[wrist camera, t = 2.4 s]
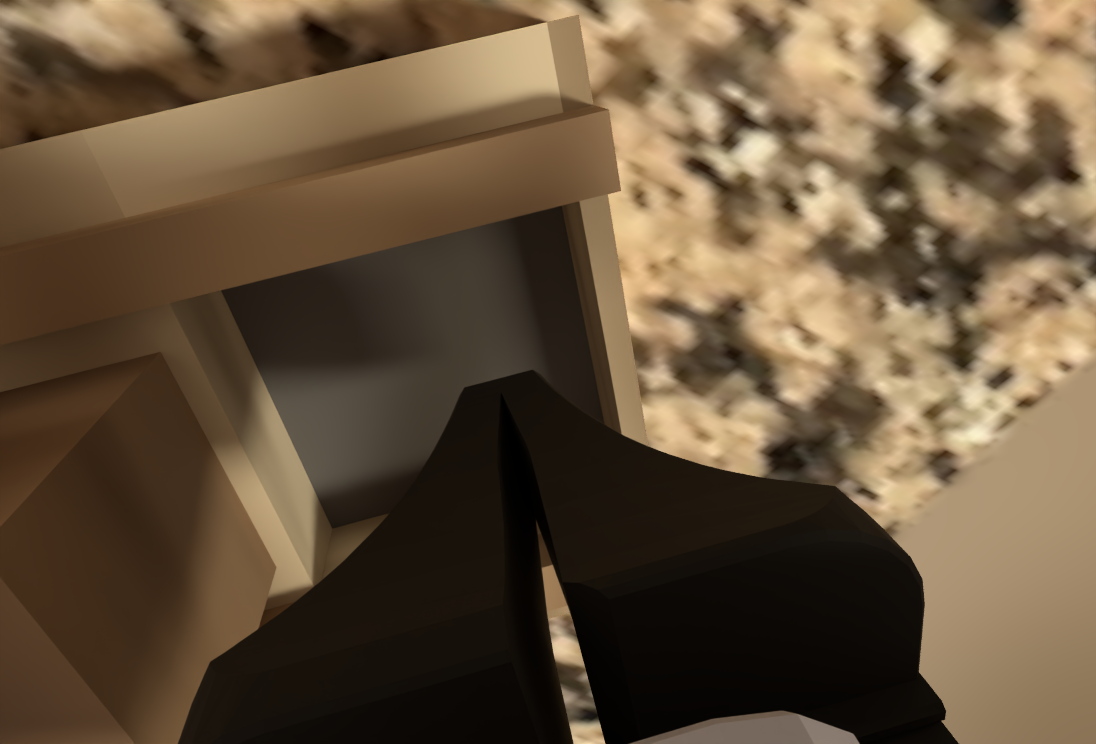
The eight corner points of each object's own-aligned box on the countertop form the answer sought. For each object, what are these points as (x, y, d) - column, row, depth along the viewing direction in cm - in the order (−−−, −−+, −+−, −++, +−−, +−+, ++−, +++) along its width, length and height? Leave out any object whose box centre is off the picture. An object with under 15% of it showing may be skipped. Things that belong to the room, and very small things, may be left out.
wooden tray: (-38, 705, 17) (-146, 855, 13) (-470, 259, 11) (-821, 338, 8) (639, 517, 18) (685, 616, 14) (551, 23, 12) (593, 10, 9)
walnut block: (29, 634, 13) (-180, 935, 9) (-143, 427, 11) (-548, 690, 6) (276, 567, 13) (199, 824, 9) (160, 351, 11) (-23, 550, 7)
